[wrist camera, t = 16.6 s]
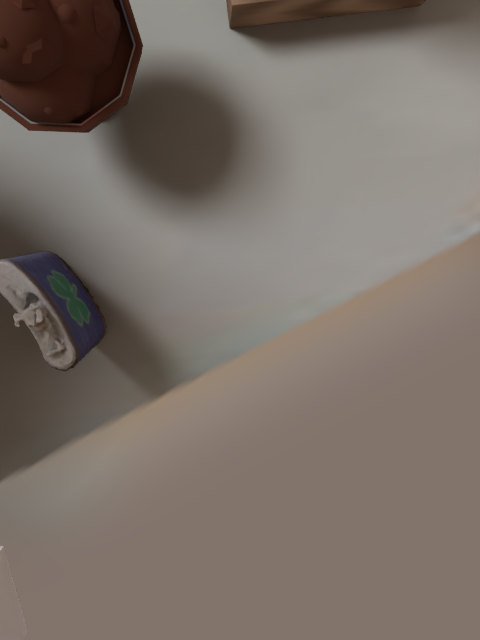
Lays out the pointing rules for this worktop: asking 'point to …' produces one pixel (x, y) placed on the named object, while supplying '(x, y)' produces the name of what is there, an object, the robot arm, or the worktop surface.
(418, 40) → the worktop surface
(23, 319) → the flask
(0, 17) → the ice cream bowl
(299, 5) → the board
